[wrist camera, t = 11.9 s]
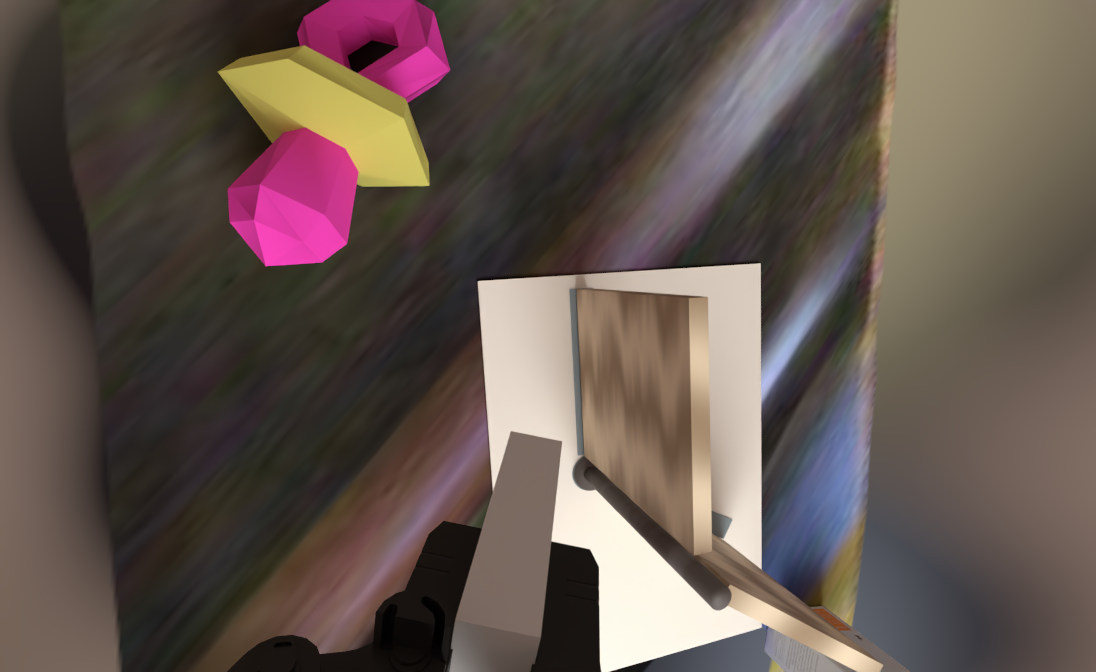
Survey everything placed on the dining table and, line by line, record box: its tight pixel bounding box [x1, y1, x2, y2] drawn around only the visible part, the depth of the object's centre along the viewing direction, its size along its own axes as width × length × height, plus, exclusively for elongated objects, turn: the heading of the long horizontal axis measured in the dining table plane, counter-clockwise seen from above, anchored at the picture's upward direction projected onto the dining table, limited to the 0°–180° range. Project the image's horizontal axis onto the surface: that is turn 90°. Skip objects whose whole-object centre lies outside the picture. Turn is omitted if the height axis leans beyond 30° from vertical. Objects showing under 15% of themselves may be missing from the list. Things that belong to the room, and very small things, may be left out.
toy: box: [218, 0, 450, 266], centre depth 30 cm, size 10×18×10 cm, turn 156°
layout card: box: [477, 263, 762, 672], centre depth 43 cm, size 32×23×1 cm
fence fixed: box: [574, 288, 732, 610], centre depth 32 cm, size 15×3×17 cm, turn 3°
